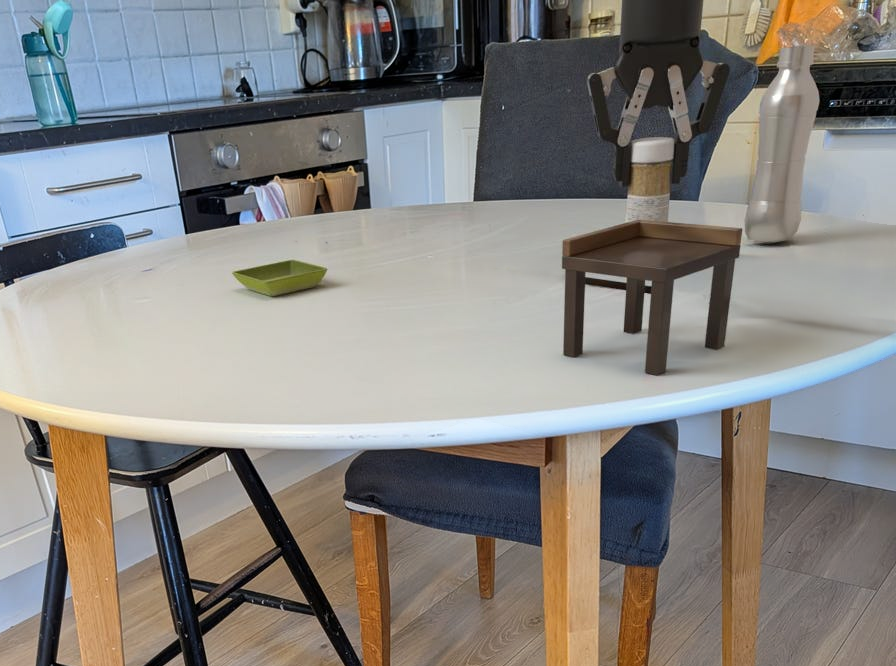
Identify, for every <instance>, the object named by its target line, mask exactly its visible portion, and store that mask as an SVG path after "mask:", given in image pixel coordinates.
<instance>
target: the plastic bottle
mask: <svg viewBox="0 0 896 666" xmlns="http://www.w3.org/2000/svg"><path fill="white" fill-rule="evenodd" d="M814 53H815V44H808V45H807V44H806V45H794V46H783V47H780V49H779V54H778V60H777V62H776V68H778V72H777V74H776V76H775V77H774V78H773V80H772V81H771V83H770V84H769V85H768V87H766V90H765V91H764V93H763V94H762V97H761V100H760V103H759V110H758V111H759V112H758V113H759V116H758V150H757V158H758V159H757V162H756V170H755V176H754V181H753V185H752V191H751V194H750V200H749V202H748V204H747V207H746V208H747V209H746V212H745V216H744V234H745V235H746V239H748V240H749V241H754V242H757V243H761V244H766V245H770V244H775V243H781V242H784V241H785V242H786V241H788V240H792V239H793V238H794V237H795V235H796V234H797V232H798V231H799V228H800V225H801V221H802V211H803V210H802V209H803V207H802V206H803V204H802V199H801V197H802V190H803V177H804V167H805V162H806V155H807V153H808V148H809V142H810V138H811V134H812V131H813V127H814V123H815V120H816V116H817V111H818V110H819V106H820V94H819V93H820V92H819V90H818V87H817V84H816V82H815V80H814V78H813V76H812V74H811V72H810V67H811V66H812V65H814Z"/></svg>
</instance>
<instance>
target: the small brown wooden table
mask: <svg viewBox="0 0 896 666" xmlns="http://www.w3.org/2000/svg"><path fill="white" fill-rule="evenodd" d="M742 236H743V228H742V227H734V226H733V227H732V226H720V225H710V224H696V223H685V222H673V221H668V222H661V221H649V220H635V221H631V222H627V223H626V222H624V223H620V224H617V225H616V224H615V225H613V226H610V227H605V228H602V229H598V230H595V231H591V232H587V233H584V234H580V235H576V236H573V237H569V238H565V239H562V245H561V246H562V252H561V253H562V254H561V255H562V256H561V269H562V270H564V305H563V308H564V309H563V345H562V346H563V348H562V349H563V350H562V355H563V356H565V357H570V358H576V357H578V356H581V355H583V353H584V351H583V350H584V328H585V327H584V325H585V323H584V322H585V301H586V300H585V297H586V296H585V295H586V285H585V277H586V275H587V274H586V273H591V274H597V275H605V276H612V277H620V278H626V282H625V283H626V290H625V299H624V300H625V302H624V318H623V333H625V332H626V333H625V334H630V333H631V334H630V335H635V333H636V334H638V333H640V332H642V330H643V316H644V304H645V293H644V292H645V285H646V281H649V282H651V285H650V286H651V294H650V298H649V299H650V300H649V301H650V302H649V311H648V312H649V314H648V325H647V326H648V327H647V339H646V340H647V341H646V351H645V352H646V354H645V366H644V373H645V374H649V375H654V376H660V375H661V374H663V373H666V372H667V363H668V362H667V361H668V351H669V340H670V339H669V338H670V328H671V319H672V306H673V298H674V296H673V295H674V285H675V280H679V279H681V278H684V277H687V276H690V275H693V274H695V273H699V272H701V271H704V270H708V269H710V268H713V269H712V279H711V285H710V286H711V287H710V294H709V303H708V314H707V320H706V321H707V322H706V329H705V338H704V348H705V349H711V350H719V349H721V348H724V347H725V344H726V336H727V335H726V334H727V328H728V319H729V312H730V304H731V297H732V289H733V288H732V287H733V280H734V273H735V266H736V265H735V264H736V259H739V258H740V255H741V254H740V252H741V244H742V238H743V237H742Z"/></svg>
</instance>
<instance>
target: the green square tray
mask: <svg viewBox="0 0 896 666" xmlns="http://www.w3.org/2000/svg"><path fill="white" fill-rule="evenodd" d="M327 271H328V268H327V267H325V266H320V265H317V264H313V263H309V262H304V261H301V260H297V259H288V260H283V261H277V262H273V263H268V264H262V265H258V266H253V267H248V268H243V269H238V270H235V271H234V270H233V271H232V272H231V274H232V275H233V277H234V278H235V279H236V280H237V281H238V282H239V283H240V284H241V285H242V286H243V287H245V288H246V289H247V290H250V291H253V292H256V293H259V294H262V295H266V296H268V297H276V296H281V295H286V294H289V293H294V292H299V291H303V290H307V289H313V288H316V287H317V286H318V285H319V283H321V281H322V280H323V279H324V277H325V276H326V274H327Z"/></svg>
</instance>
